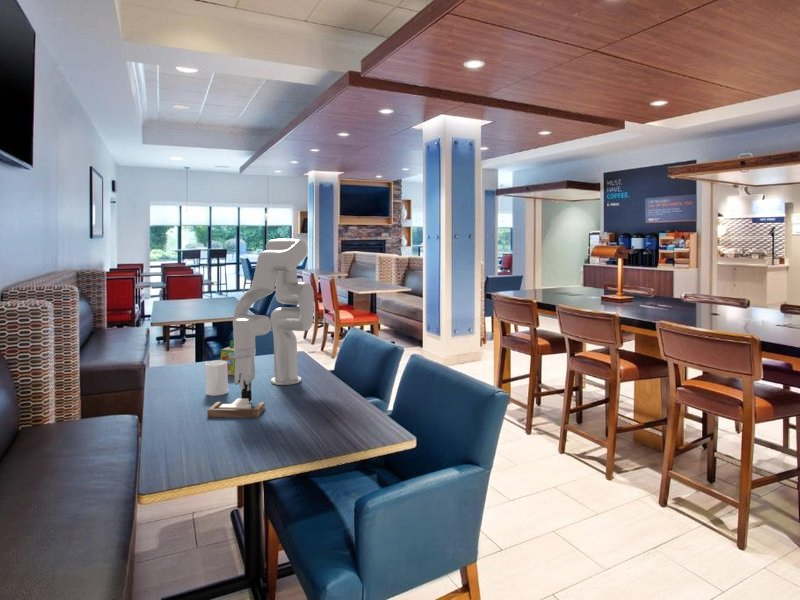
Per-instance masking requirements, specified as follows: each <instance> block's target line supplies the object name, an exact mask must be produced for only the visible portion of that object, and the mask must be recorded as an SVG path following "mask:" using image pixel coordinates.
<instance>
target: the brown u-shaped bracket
mask: <svg viewBox="0 0 800 600" xmlns="http://www.w3.org/2000/svg"><path fill="white" fill-rule="evenodd" d="M221 405H222V401H216V402H215V403H214V404H213V405H212V406H210V407H209V408H208V409H207V414H206V416H207V418H247V419H248V418H259V417H260V415H261V414H262V413H263V412H264V410H265V401H260V402H259V403H258V404H257V405H256V407H255V408H251V409H219V407H220V406H221Z"/></svg>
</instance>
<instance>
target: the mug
mask: <svg viewBox="0 0 800 600" xmlns="http://www.w3.org/2000/svg"><path fill="white" fill-rule="evenodd" d="M228 378H229V375H228V373H227V361H222V360H221V359H220V360H212V361H207V362H205V384H206V385H205V394H206V395H207V396H222V395H226V394H228V393H229V391H230V389H229V379H228Z"/></svg>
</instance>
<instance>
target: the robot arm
mask: <svg viewBox="0 0 800 600" xmlns="http://www.w3.org/2000/svg"><path fill="white" fill-rule="evenodd" d="M307 254H308V245H307V243H306V241H304V240H303V239H301V238H273V239H270V240H268V241H267V242H266V244H265V250H263V251H260V253H259V254H258V257H257V259H256V265H255V268H254V269H255V270H254V274H253V279H252V283H251V284H252V285H251V287H250V288H249V289H248V290H247V291H246V292H245V293H244V294H243V295H242V297H240V299H239V300H238V302H237V303H236V306H235V309H234V314H233V318H232V319H233V320H232V328H233V329H232V330H233V331H232V333H233V341H234V343H233V346H234V357H236V360H235V376H234V385H236V386H237V385H239V389H240V394H241V398H243V399H249V403H250V402H251V401H252V397H253V396H252V395H253V394H252V381H253V380H255V376H256V368H255V367H256V366H255V357H256V355H257V352H256V351H257V349H256V347H257V346H256V337H257V336H264V335H267V334H269V332H270V331H271V329H272V334H273V362H274V365H273V366H274V377H272V378H271V379H270V383H271V384H272V385H277V386H291V385H296V384H299V383H301V381H302V377H301V376H299V375H298V340H297V337H296V334H295V331H296V332H307V331H309V330H310V329H311V328H312V326H313V323H314V308H315V307H314V306H315V305H314V304H315V301H314V300H315V296H314V295H315V292H314V289H313V286H312V285H311V283H309V282H307V281H298V269H297V267H298V266H299V265H300V264H301V263H302V262H303V261H304V259H305V258H306V257H307ZM274 291H275V300H276V301H277V302H278V303H280V304H281V305H282V304H283V305H296V306H297V305H298V306H299V307H287V306H286V307H283V306H282V307H277V308H275V309H274V310H272V312H271V314H270V317H269V316H267V315H264V314H263V315H262V314H261V315H260V314H248V312H249V309H250V308H251V307H252V305H253V304H255V303H256V302H258V301H259V300H261V299H263V298H266V297H267V296H269V295H271V294H273V293H274Z"/></svg>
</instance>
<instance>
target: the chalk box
mask: <svg viewBox="0 0 800 600" xmlns="http://www.w3.org/2000/svg"><path fill="white" fill-rule="evenodd" d="M220 360H222V361H227V373H228V376H230V375H231V376H232V377H235V360H236V357H234V339H233V340H230V341H229V346H227V347H224V348H222V349H220Z"/></svg>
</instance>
